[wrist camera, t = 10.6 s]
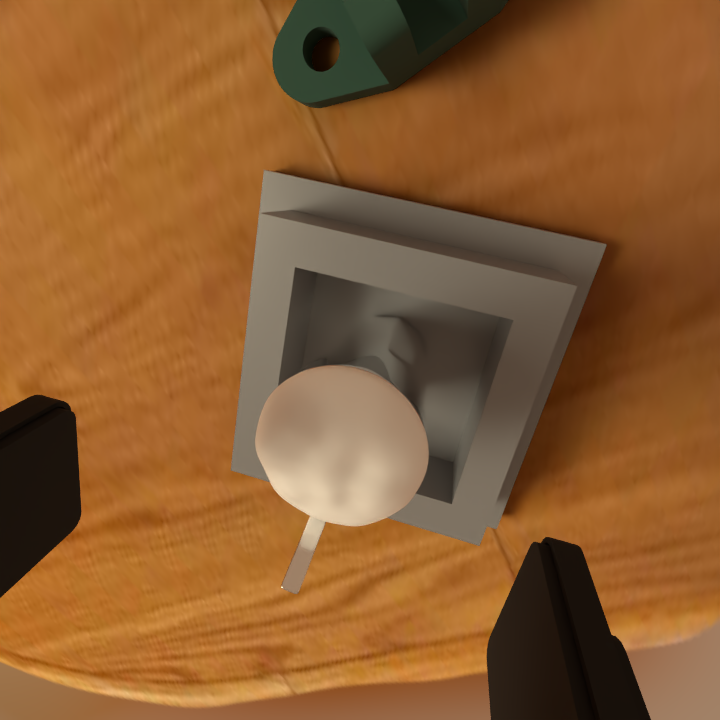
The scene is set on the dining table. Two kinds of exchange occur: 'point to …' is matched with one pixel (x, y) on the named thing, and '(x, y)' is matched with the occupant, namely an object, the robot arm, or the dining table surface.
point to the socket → (418, 326)
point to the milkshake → (348, 433)
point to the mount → (370, 43)
